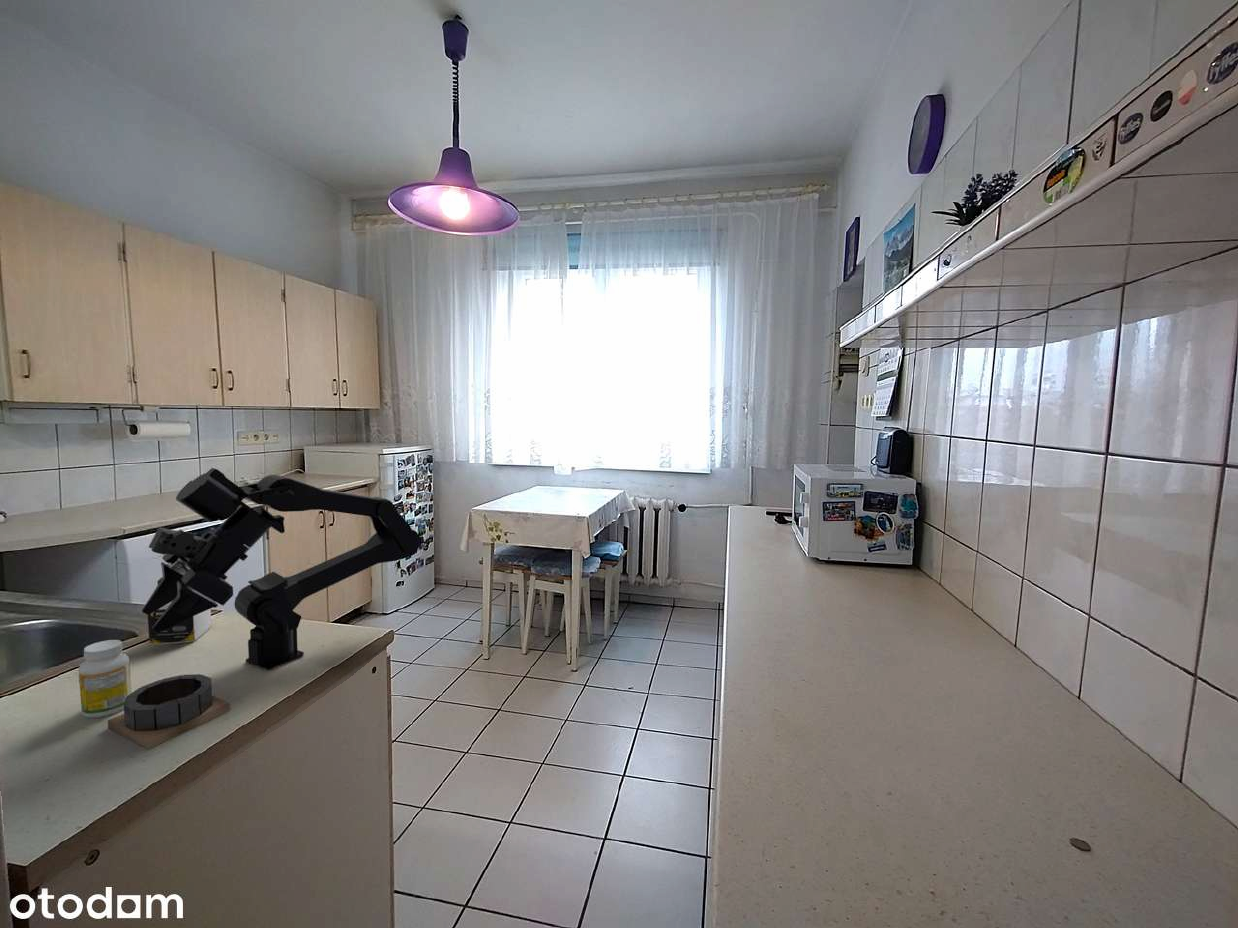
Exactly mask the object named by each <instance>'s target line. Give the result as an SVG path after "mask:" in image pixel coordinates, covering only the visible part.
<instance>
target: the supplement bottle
mask: <svg viewBox="0 0 1238 928" xmlns="http://www.w3.org/2000/svg"><path fill="white" fill-rule="evenodd" d="M123 648H124V647H123V642H122V641H121V640H119V639H108V640H107V639H106V640H102V641H99V642H98V641H97V642H94V643H92V644H90V645H89V644H88V645H87V646H85V647H84V648H83V657H84V659H85V661H83V662H82V663H81V664H80V666H79V668H78V679H79V680H78V682H79V684H78V685H79V693H80V695H79V696H80V706H81V713H82V715H83V716H84V717H86V718H93V719H95V718H102V717H108V716H110V714H111V715H113V714H116V713H119V712H121V711H124V702H125V699H126V697H127V696H128V695H130V694H131V693H132V682H131V668H130V667H131V666H130V658H129V656H128V655H127V654H125V653H123Z"/></svg>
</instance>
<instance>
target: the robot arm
mask: <svg viewBox="0 0 1238 928" xmlns="http://www.w3.org/2000/svg"><path fill="white" fill-rule="evenodd" d="M175 500H176V501H177V502H179V503H180V504H182V505H183V506H185V507H186V508H188V509H190V511H192V512H194V513H196V514H197V515H199V516H200V517H201V518H203V519H204V520H206V521H208V522H210V523H211V522H214V521H217V520H219V521H221V522H222V523H221V524H219V526H218V527H217V528H216V529H215V530H214V531H211V530H208V531H205V532H203V533H202V534H201V535H200V536H198V535H194V533H193V532H191V531H188V532H187V531H184V530H183V529H179V530H174V529H170V528H166V527H165V528H164V527H158V528H157V530H156V532H155V534H154V536H153V537H152V540H151V541H150V544H149V545H148V548H150V549H151V551H152V552H153V553H155V554H160V555H164V556H162V557H161V559H162V560H163V561H164V562H163V561H161V562H160V566H161V573H162V577H161V578H162V579H161V581H160V582H159V584H158V583H157V586H156V587H155V589H154V590H153V592H152V594H151V595H150V597H149V598H148V600H147V602H146V603H145V604H144V606H143V608H142V609H141V612H142V613H143V614H145V615H147V616H148V615H149V614H151V613H153V612H154V611H156V610H158V609H160V608H161V607H163V606H165V605H166V604H168V603H170V602H171V601H172V603H171V604H170V605H169V606H168V608H167V609H166V610H165V612H164V613H163V614H162V615H161V617H160V618H159V619H158V621H157V622H156V623H155V625H154V626H153V628H152V629H153V630H154V631H156V632H161V631H164V630H166V629H168V628H170V627H172V626H174V625H176V624H178V623H180V622H182V621H184V620H186V619H188V618H190V617H192V616H195V615H197V614H199V613H201V612H204V611H206V610H208V609H213V608H217V607H218V606H219V605H221V606H224V605H226V603H227V602H228V601H229V600H230V599H231V598H232V597H233V596H234V587H233V586H232V584H230V583H229V582H228V581H227V579H228V576H227V575H226V574H227V573H228V572H229V571H230V569H232V568H233V566H234V565H235V564H237V563H238V561H240V560H241V561H243V562H244V561H245V560H246V559H247V558H249V555H248V554H247V552H248V551H249V550H250V549H251V548H252V547H254V545H255V544H256V543H257V542H258V541H259V540H260V539H261V538H262V537H263V536H264V535H265V534H266V533H267V532H268V531H269V530H270V529H271V528H272V530H274V531H276V532H279V533H280V534H285V525H284V524H285V523H284V521H285V517H284V516H283V515H281V514H276V515H273V514H272V513H270V512H269V511H268V510H266V509H265V508H263V507H262V506H265V507H267V508H269V509H272V510H275V511H278V512H283V513H284V512H285V513H288V512H304V511H305V512H306V511H313V510H314V511H315V510H317V511H318V510H321V511H328V512H337V513H342V514H349V515H356V516H357V515H358V516H363V517H364V516H365V517H369V518H370V520H371V523H372V527H373V529H374V531H375V533H374V534H373V535H372V536H371V537H370V538H369V539H368V540H367V542H365V543H364V544H362V545H359V546H357V547H355V548H353V549H351V550H348V551H346V552H344V553H341V554H339V555H337V556H335V557H332V558H329V559H327V560H325V561H323V562H320V563H318V564H316V565H314V566H312V567H309V568H307V569H305V570H302V571H300V572H298V573H296V574H294V575H290V576H286V577H285V576H283V575H281V574H279V573H278V572H276V571H272V572H269V573H267V574H266V575H264V576H262V577H260V578H258V579H255V580H254V579H253V580H249V581H248V582H247V583H248V585H246V586H244V587H243V588H241V589H240V590H239V591H238V593H237V595H236V597H235V600H234V609H235V611H236V612H237V613H238V614H239V615H240V616H242V617H243V618H245V620H247V621H248V622H249V623H251V624H253V625H254V626H255V627H254V628H251V629H250V630H249V632H250V633H249V634H250V635H249V637H250V638H249V639H248V641H247V648H248V657H247V658H246V659H245V663H247V664H249V665H252V666H254V667H257V668H261V669H264V670H267V671H269V670H273V669H276V668H277V667H280V666H282V665H285V664H287V663H290V662H291V661H293V660H296V659H298V658H300V657H302V656H304V655H305V652H304V651H302V650H298V628H299V625H300V622H301V620H302V615H301V614H299V613H298V612H295V611H294V610H295V609H296V608H297V607H298V606H299V605H300V604H301V602H302V601H303V600H304V599H306V598H308V597H311V596H312V595H315V594H317V593H320V591H323V590H325V589H327V588H329V587H331V586H333V585H336V584H337V583H340V582H342V581H344V580H346V579H347V578H350V577H352V576H354V575H356V574H359V573H360V572H362V571H365V570H367V569H369V568H371V567H373V566H375V565H378V564H381V563H384V564H385V563H389V562H390V563H391V562H398V561H400V560H405V559H407V558H410V557H412V556H415V554H417V553H418V551H419V548H420V545H421V536H420V534H419V533H418V531H416V530H415V529H412V527H411V525H410V524H409V522H408V521H407V520H406V519H405V518H404V517H403V516H402V515H401V513H400V512H399V511H398V510H397V508H396V507H395V504H393V502H392V501H391V500H389V499H387V498H383V497H380V496H373V497H372V496H367V495H366V496H365V495H360V494H354V493H347V492H343V491H342V492H341V491H336V490H330V489H325V488H324V489H323V488H318V487H317V486H316V487H315V486H313V485H311V484H308V483H305V482H302V481H299V480H297V479H294V478H289V477H286V476H282V475H279V474H268V475H266V476H265V477H263V478H262V479H261V478H260V480H259V481H258V482H255V483H251V484H245V485H241V486H238V485H237V484H236V483H234V482H233V481H231V480H230V478H227V477H226V475H225V474H224V473H223V472H222V471H220V470H219V469H218V468H214V467H211V468H210V469H209V470H208V471H206V472H205V473H203V474H201V475H198V476H197V477H196V478H194V479H193V480H190V481H189V482H187V483H186V484H185V485H184V486H183V487H182V488H181V489H180V491H179V492H178V493H177V495H176V497H175ZM244 500H245V501H248V502H251V503H254V504H256V505H262V506H256V507H253V508H252V507H250V506H249V505H248V504H246V503H245V502H244ZM165 562H166V563H165ZM218 604H219V605H218Z"/></svg>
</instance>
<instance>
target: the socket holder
mask: <svg viewBox="0 0 1238 928" xmlns="http://www.w3.org/2000/svg"><path fill="white" fill-rule="evenodd" d="M212 683H213V682H212V677H209V676H207V675H205V674H204V675H203V674H199V673H198V674H179V675H175V676H170V677H166V678H165V677H164V678H162V679H158V680H156V681H153V682H151V683H148V684H145V685H142V686H141V687H139V688H137V689H136V690H134V691H133V692H131V694H130V695H128V696H127V697H126V699H125V702H124V709H123V713H122V714H120V715H118V716H117V715H116V716H115V717H112V718H110V719H108V720H107V728H108V729H109V730H110V731H113V732H115V733H116V734H118V735H120V736H122V737H124V738H126V739H128V740H130V741H132V742H134V743H136V744H139V745H140V746H142V747H144V748H146V749H148V750H149V749H152V748H154V747H155V746H158V745H160V744H163V743H164V742H166V741H168V740H170V739H172V738H174V737H177V736H178V735H181V734H183V733H186V732H187V731H189V730H191V729H192V730H193V728H196V727H198V726H199V725H202V724H204V723H206V722H208V721H210V720H212V719H214V718H216V717H219V716H221V715H223V714H225V713H227V712H230V711H231V702H230V701H227V700H225V699H222V698H220V697H217V696H215V695H213V684H212Z"/></svg>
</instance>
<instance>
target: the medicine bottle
mask: <svg viewBox="0 0 1238 928" xmlns="http://www.w3.org/2000/svg"><path fill="white" fill-rule="evenodd" d="M161 579H162V577H160V578H159V579H158V580H157V585H158V584H159V582H160V581H161ZM171 603H172V601H171V602H170V603H168V604H166V605H165V606H163V607H161V608H160V609H158V610H156V611H154V612H153V613H151V614H149V615H147V625H148V626H147V627H148V641H149V645H150V646H159V645H172V644H185V643H186V644H187V643H195V642H196V641H197V640H198V639H199V638H200V637H201V636H202V635H203V636H204V634H205V633H206V632H207V631H209V630H210V629H211V628H212V613H211V612H212V610H211V609H212V608H211V609H208V610H206V611H204V612H201V613H199V614H197V615H195V616H192V617H190V618H188V619H186V620H184V621H182V622H180V623H178V624H176V625H174V626H172V627H170V628H168V629H166V630H164V631H161V632H156V631H154V630H153V629H152V628H153V626H154V625H155V623H156V622H157V621H158V619H159V618H160V617H161V615H162V614H163V613H164V612H165V610H166V609H167V608H168V606H169V605H170V604H171Z"/></svg>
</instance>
